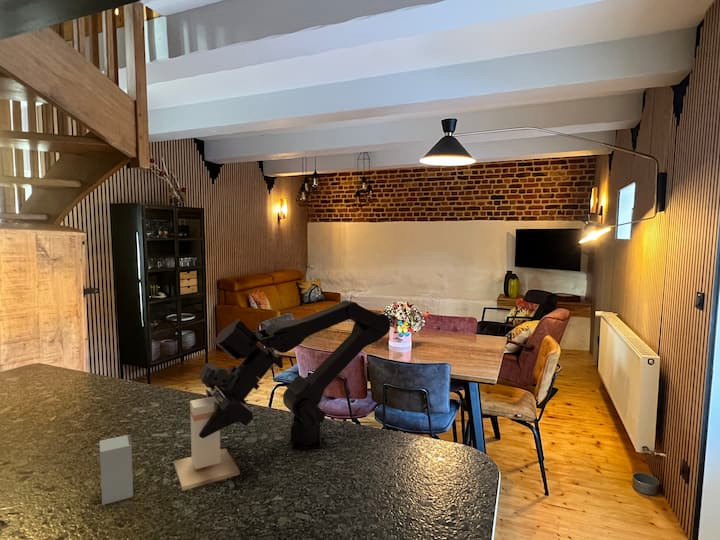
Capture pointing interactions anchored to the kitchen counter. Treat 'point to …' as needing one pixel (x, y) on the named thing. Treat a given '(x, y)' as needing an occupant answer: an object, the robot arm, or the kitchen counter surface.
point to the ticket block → (116, 469)
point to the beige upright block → (208, 447)
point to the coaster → (204, 471)
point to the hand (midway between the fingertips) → (198, 432)
